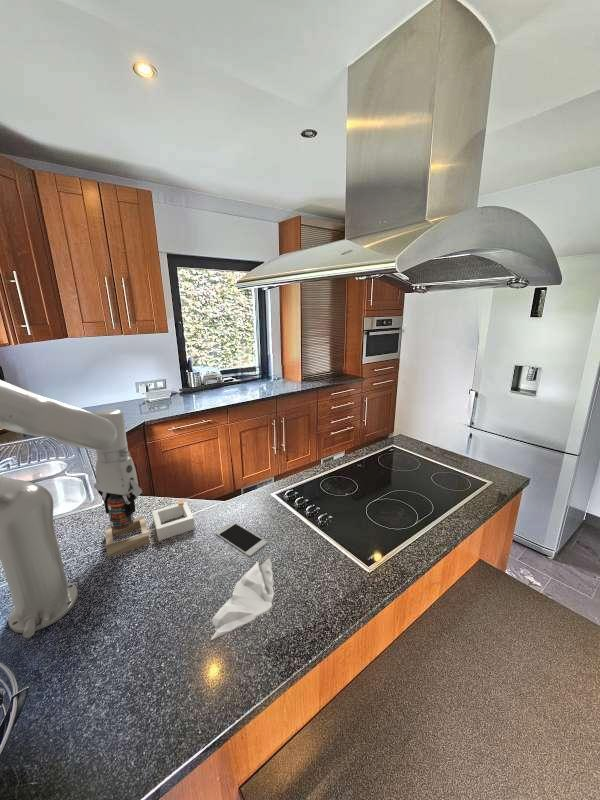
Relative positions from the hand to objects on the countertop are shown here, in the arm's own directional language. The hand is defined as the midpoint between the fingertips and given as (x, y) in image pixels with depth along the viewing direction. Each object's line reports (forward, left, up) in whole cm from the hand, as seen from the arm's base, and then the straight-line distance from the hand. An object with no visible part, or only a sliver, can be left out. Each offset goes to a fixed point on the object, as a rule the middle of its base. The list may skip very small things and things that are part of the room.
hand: (120, 511), depth 93 cm
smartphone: (-16, -30, -11) cm, 36 cm away
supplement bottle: (0, 0, -4) cm, 4 cm away
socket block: (+1, -14, -10) cm, 17 cm away
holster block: (+1, -1, -10) cm, 10 cm away
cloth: (-36, -24, -11) cm, 45 cm away
